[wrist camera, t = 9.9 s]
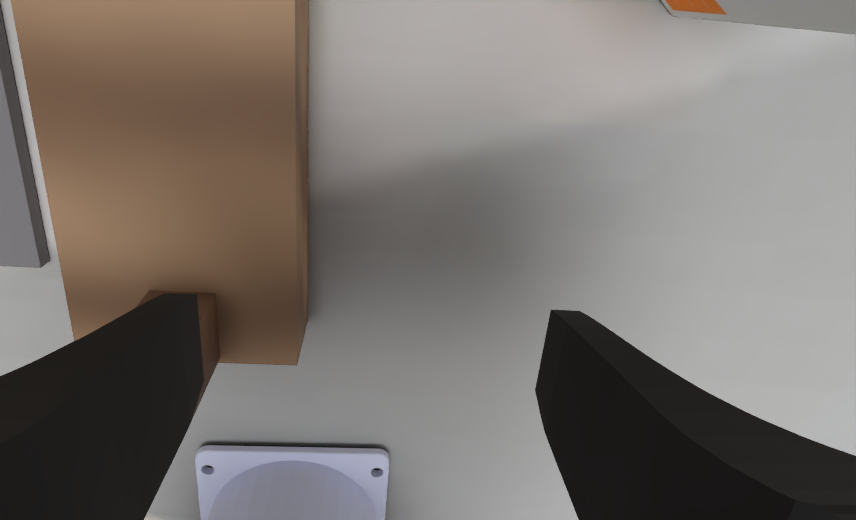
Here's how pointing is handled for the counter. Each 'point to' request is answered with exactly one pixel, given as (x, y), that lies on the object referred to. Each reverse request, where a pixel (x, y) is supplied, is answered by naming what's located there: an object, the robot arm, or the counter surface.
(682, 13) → the skincare box
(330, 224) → the counter surface
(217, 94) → the body
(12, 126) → the mat
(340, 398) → the counter surface
